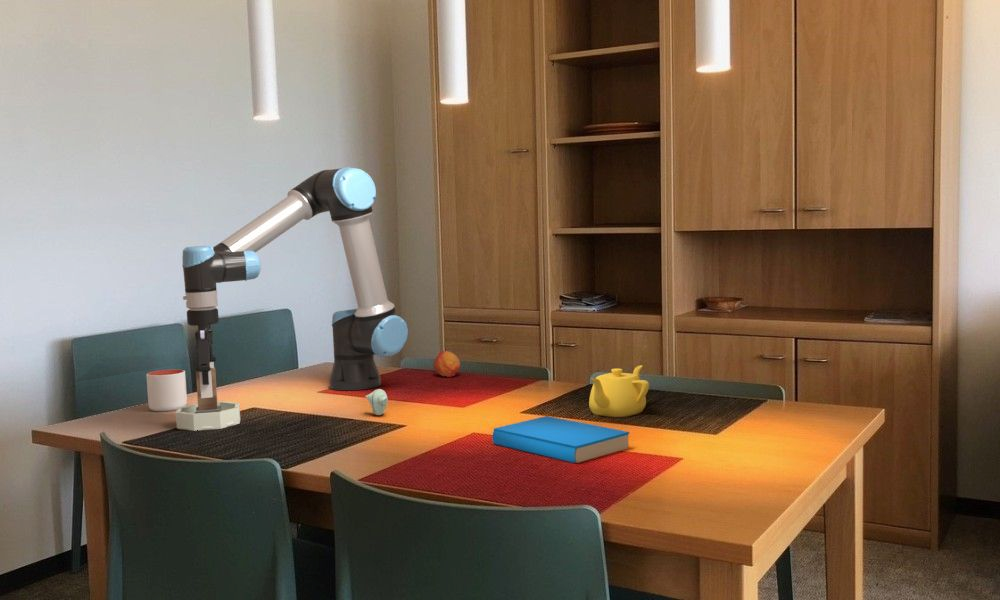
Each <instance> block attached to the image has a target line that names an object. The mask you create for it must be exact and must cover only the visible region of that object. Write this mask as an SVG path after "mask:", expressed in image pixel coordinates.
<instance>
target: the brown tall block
mask: <svg viewBox="0 0 1000 600" xmlns="http://www.w3.org/2000/svg"><path fill="white" fill-rule="evenodd" d="M210 371H211V378H212V391H213V397H210V398H201V389H200V375H199V372H196V371H195V378H196V379H195V380H196V394H197V396H196V397H197V403H198V411H199V410H212V409H218V406H217V402H218V395H217V394H218V393H217V377H216V375H217V373H216V367H214V368H211V370H210Z"/></svg>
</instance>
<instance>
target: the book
mask: <svg viewBox="0 0 1000 600" xmlns="http://www.w3.org/2000/svg"><path fill="white" fill-rule="evenodd" d="M629 435H630V431H627V430H621V429H616V428H610V427H606V426H601V425H596V424H589V423H587V422H580V421H575V420H570V419H563V418H559V417H554V416H549V415H545V416H541V417H540V416H539V417H536V418H532V419H528V420H523V421H520V422H516V423H512V424H507V425H502V426H499V427H498V426H497V427H495V428H493V432H492V438H491V439H492V443H493V444H494V445H497V446H500V447H506V448H510V449H514V450H518V451H522V452H527V453H531V454H535V455H540V456H543V457H548V458H552V459H557V460H561V461H565V462H569V463H574V464H577V463H581V462H585V461H589V460H592V459H595V458H599V457H602V456H605V455H609V454H613V453H616V452H620V451H624V450H626V449H629Z"/></svg>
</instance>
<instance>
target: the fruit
mask: <svg viewBox="0 0 1000 600" xmlns="http://www.w3.org/2000/svg"><path fill="white" fill-rule="evenodd" d="M433 369H434V371H435V372H436V373H438V375H440V376H442V377H445V376H446V378H453V377H455V376H456V375H457V373H458V372H459V371H460V370H461V361H460V359H459V357H458V356H457V355H456V354H455V353H453V352H451V351H449V350H443V351H441V352H439V353H438V354H437V356H436V357H435V359H434V362H433ZM452 376H453V377H452Z"/></svg>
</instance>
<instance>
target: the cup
mask: <svg viewBox="0 0 1000 600" xmlns="http://www.w3.org/2000/svg"><path fill="white" fill-rule="evenodd" d="M186 379H187V378H186V370H183V369H160V370H154V371H150V372H148V373H146V390H147V402H148V403H147V405H148V407H149V409H150V410H151V411H153V412H172V411H177V409H178V408H179V407H183V406H187V403H188V398H187V396H188V395H187V394H188V393H187V381H186Z"/></svg>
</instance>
